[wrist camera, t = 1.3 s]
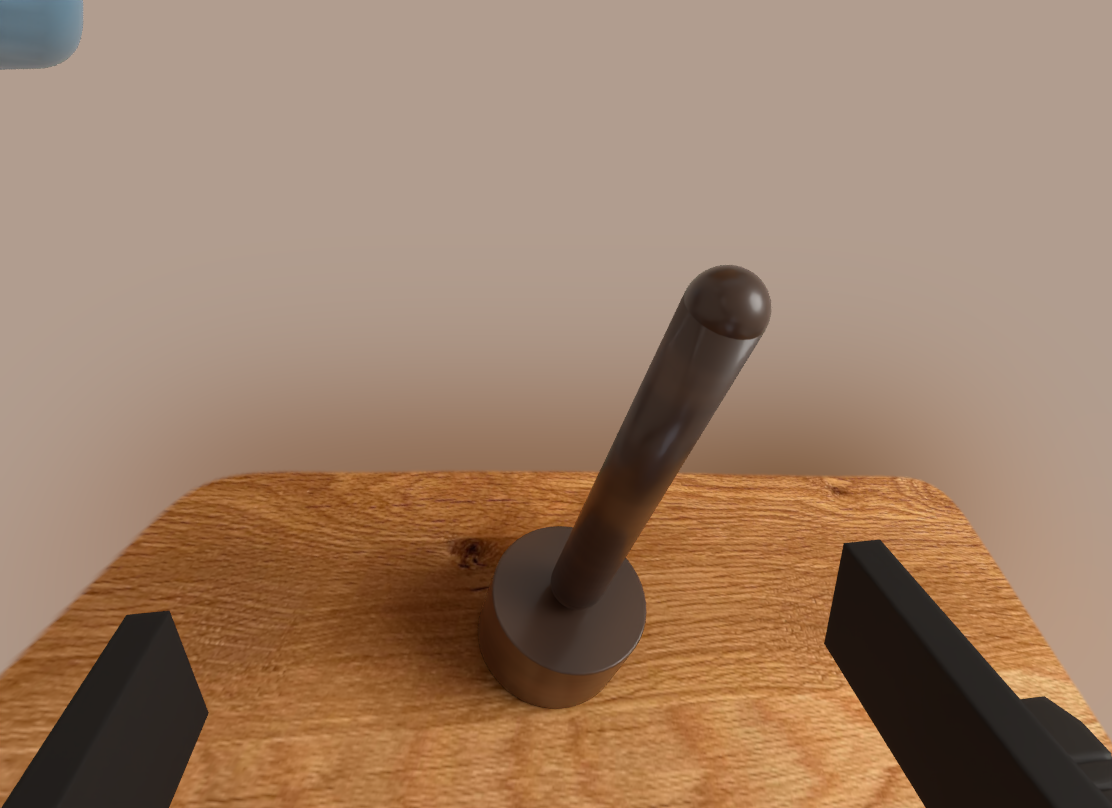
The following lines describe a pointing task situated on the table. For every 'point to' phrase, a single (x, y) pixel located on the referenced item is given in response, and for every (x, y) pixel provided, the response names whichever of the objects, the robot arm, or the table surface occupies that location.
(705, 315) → the joystick lever
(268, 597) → the table surface
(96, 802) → the robot arm
